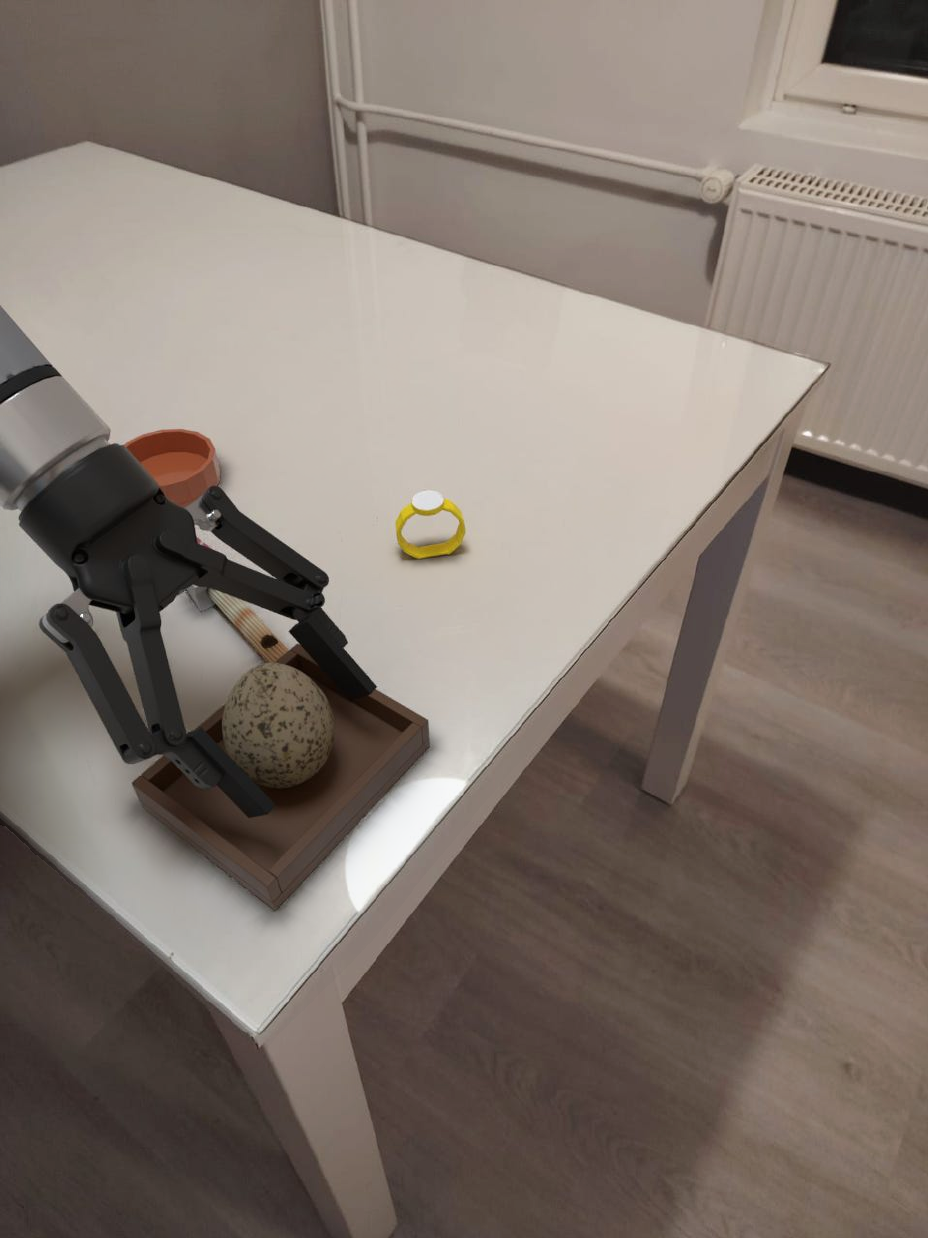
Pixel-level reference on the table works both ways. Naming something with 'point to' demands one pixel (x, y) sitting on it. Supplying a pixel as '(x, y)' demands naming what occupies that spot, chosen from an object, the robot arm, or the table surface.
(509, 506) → the table surface
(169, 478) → the shallow dish
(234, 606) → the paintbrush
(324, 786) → the tray
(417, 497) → the watch
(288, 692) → the decorative egg
